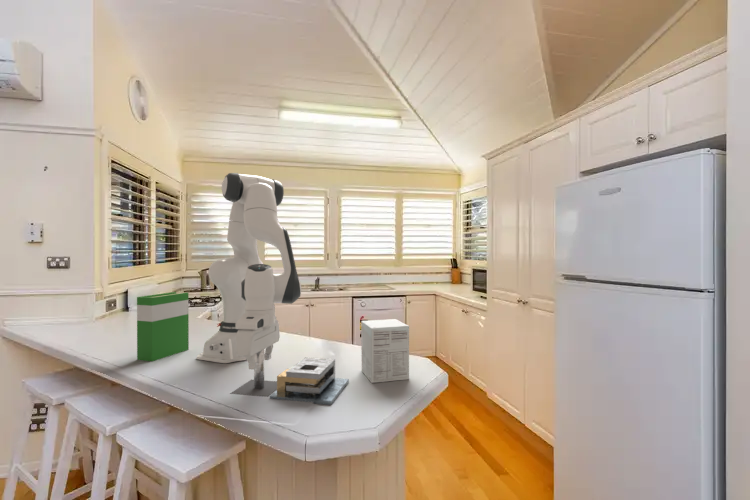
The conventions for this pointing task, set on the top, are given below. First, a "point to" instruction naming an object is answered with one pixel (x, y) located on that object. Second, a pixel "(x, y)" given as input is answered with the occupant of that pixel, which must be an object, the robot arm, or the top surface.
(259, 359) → the pin
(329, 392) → the grey layered square block
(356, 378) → the top surface
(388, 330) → the supplement box
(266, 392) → the mat
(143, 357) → the hardback book
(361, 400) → the top surface
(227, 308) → the robot arm
